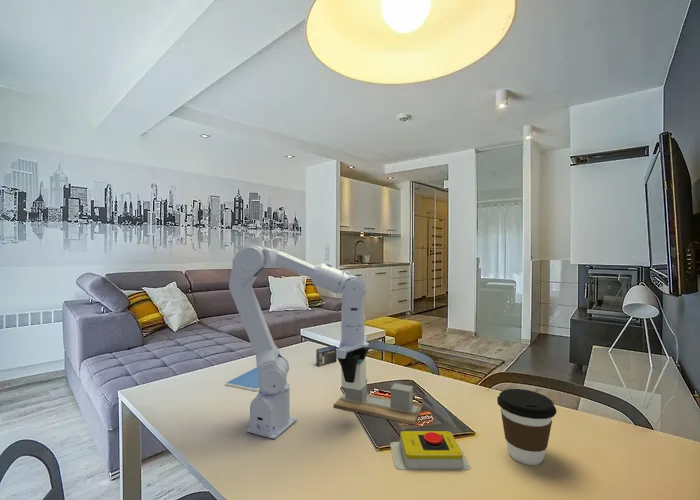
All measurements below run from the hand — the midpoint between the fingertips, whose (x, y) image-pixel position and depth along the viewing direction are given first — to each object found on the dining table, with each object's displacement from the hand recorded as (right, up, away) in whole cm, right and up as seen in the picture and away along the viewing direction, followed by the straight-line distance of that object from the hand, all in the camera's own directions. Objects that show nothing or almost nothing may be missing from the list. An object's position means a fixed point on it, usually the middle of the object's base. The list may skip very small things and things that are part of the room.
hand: (353, 378), depth 85 cm
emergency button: (+15, -11, -14) cm, 24 cm away
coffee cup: (+36, -11, -14) cm, 40 cm away
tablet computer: (-31, -11, +28) cm, 43 cm away
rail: (+7, -10, +7) cm, 14 cm away
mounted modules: (+7, -9, +7) cm, 13 cm away
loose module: (0, -2, 0) cm, 2 cm away
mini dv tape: (-9, -10, +42) cm, 44 cm away
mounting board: (+7, -10, +7) cm, 14 cm away
